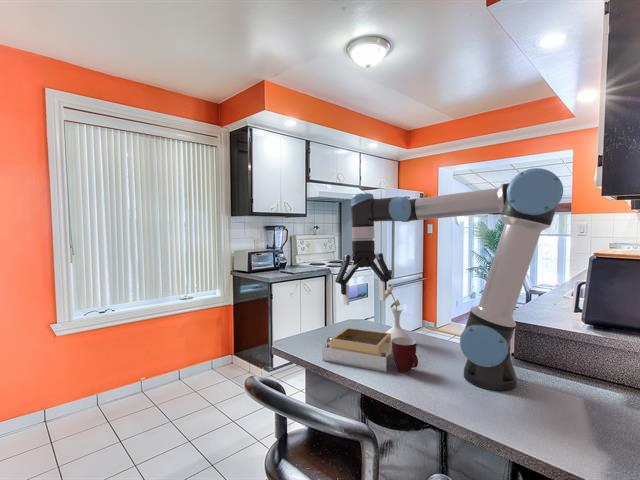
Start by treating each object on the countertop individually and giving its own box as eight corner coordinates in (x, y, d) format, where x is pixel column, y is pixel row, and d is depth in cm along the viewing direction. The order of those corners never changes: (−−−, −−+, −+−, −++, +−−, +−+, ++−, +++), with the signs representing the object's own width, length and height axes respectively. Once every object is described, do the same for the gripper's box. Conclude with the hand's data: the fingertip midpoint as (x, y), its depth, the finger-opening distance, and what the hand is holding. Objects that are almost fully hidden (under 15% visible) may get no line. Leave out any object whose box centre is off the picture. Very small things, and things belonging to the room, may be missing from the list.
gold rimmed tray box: (399, 354, 131) (399, 333, 130) (386, 372, 115) (386, 348, 114) (332, 343, 143) (332, 324, 143) (312, 358, 127) (312, 337, 127)
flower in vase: (393, 335, 154) (393, 280, 154) (415, 341, 146) (416, 283, 145) (375, 341, 146) (375, 283, 145) (398, 348, 137) (398, 286, 136)
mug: (427, 374, 113) (427, 344, 112) (410, 380, 108) (410, 349, 108) (403, 363, 122) (403, 336, 121) (386, 368, 117) (386, 340, 117)
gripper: (389, 238, 123) (390, 297, 124) (324, 240, 115) (326, 303, 115) (401, 238, 116) (402, 300, 117) (333, 241, 108) (335, 308, 108)
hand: (364, 302), depth 116 cm, fingers open, 13 cm apart
